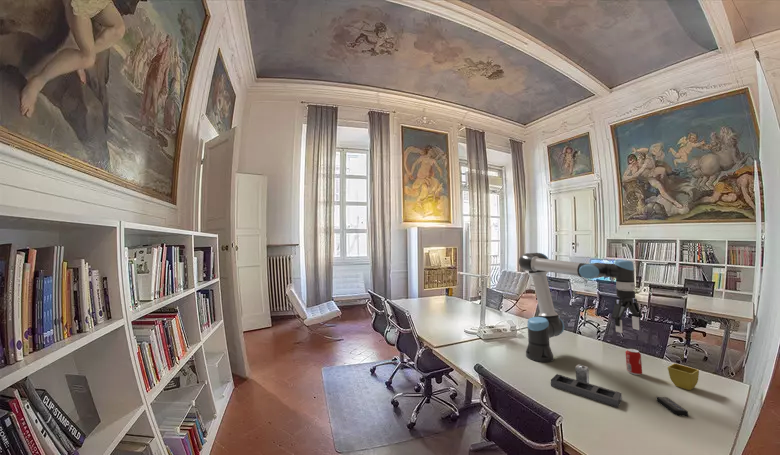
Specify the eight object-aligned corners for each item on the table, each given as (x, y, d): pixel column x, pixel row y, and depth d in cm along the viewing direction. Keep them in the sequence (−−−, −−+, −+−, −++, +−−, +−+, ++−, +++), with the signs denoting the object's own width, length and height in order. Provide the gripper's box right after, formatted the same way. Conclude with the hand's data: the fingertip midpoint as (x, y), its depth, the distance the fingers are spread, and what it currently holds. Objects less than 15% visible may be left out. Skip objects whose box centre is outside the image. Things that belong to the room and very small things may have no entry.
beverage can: (645, 376, 147) (643, 352, 148) (631, 375, 148) (629, 352, 149) (637, 371, 153) (635, 348, 154) (624, 370, 154) (622, 347, 155)
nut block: (576, 383, 141) (575, 366, 141) (578, 380, 144) (577, 363, 144) (587, 386, 137) (586, 369, 138) (589, 383, 140) (588, 366, 141)
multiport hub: (675, 416, 113) (675, 410, 113) (656, 401, 124) (655, 396, 124) (688, 417, 112) (688, 411, 113) (668, 402, 123) (667, 397, 123)
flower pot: (693, 393, 129) (692, 373, 130) (668, 385, 137) (667, 366, 138) (700, 389, 133) (699, 369, 134) (675, 381, 141) (674, 363, 142)
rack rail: (551, 386, 138) (550, 379, 138) (557, 380, 144) (556, 374, 144) (618, 408, 119) (617, 400, 119) (621, 399, 125) (621, 392, 125)
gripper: (617, 292, 140) (620, 335, 139) (648, 289, 148) (651, 330, 147) (602, 290, 147) (604, 331, 146) (632, 287, 155) (634, 326, 154)
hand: (627, 330), depth 146 cm, fingers open, 13 cm apart
